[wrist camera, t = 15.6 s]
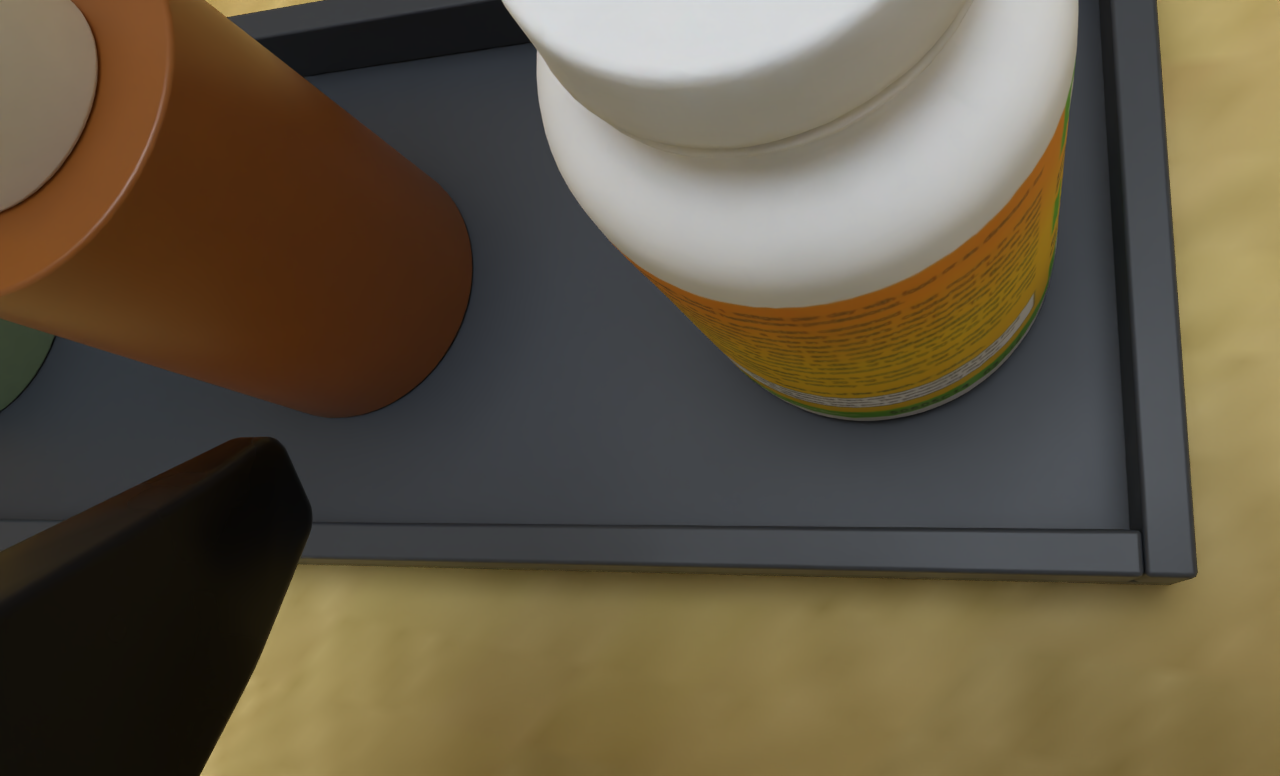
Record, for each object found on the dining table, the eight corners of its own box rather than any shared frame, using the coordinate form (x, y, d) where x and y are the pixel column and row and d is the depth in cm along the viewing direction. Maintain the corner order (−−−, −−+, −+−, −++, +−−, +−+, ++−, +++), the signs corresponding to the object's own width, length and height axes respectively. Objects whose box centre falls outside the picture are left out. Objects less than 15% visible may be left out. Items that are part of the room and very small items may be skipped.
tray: (-178, 552, 24) (-284, 545, 22) (-95, 128, 26) (-185, 87, 24) (1174, 585, 15) (1199, 577, 13) (1132, -59, 17) (1147, -147, 15)
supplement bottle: (1129, 313, 15) (1293, -132, 6) (801, 489, 16) (549, 317, 7) (938, 38, 17) (860, -607, 8) (654, 212, 18) (308, -195, 9)
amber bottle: (282, 465, 20) (-367, 316, 10) (214, 242, 21) (-399, -57, 12) (512, 338, 19) (21, 49, 9) (422, 114, 20) (-71, -319, 11)
